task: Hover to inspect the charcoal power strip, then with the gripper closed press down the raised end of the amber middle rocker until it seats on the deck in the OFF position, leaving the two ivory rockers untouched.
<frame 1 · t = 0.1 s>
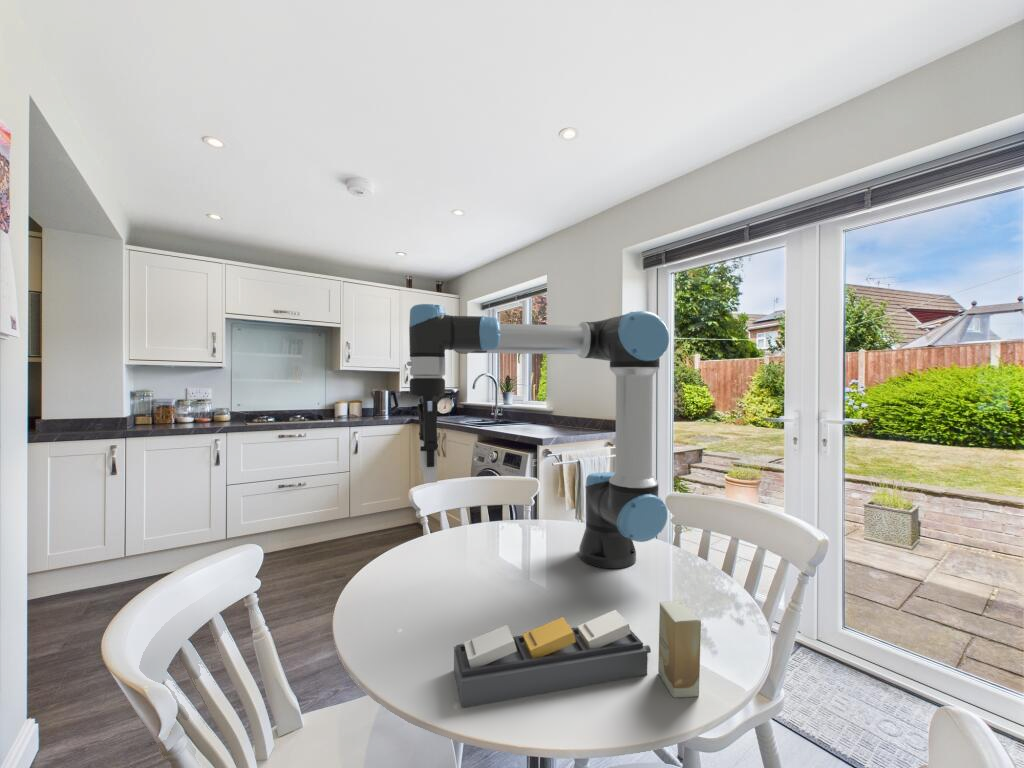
hand: (427, 475, 100), 28 cm above the table, fingers open, 13 cm apart
rocker 1: (489, 646, 74), point 6 cm above the table, hinge at 15.0°
skincare box: (678, 686, 74), on the table
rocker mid: (548, 637, 77), point 6 cm above the table, hinge at 15.0°
rocker 2: (603, 629, 79), point 6 cm above the table, hinge at 15.0°
power strip: (549, 672, 77), on the table
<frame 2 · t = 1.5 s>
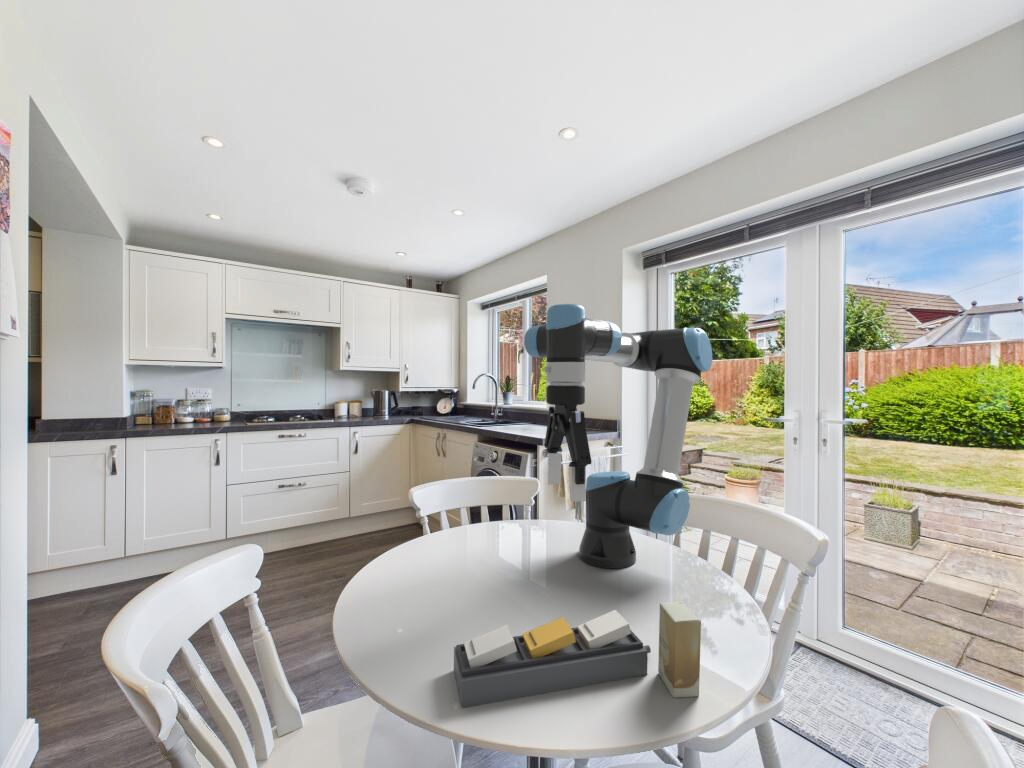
hand: (565, 492, 91), 27 cm above the table, fingers open, 13 cm apart
nothing on the table moved.
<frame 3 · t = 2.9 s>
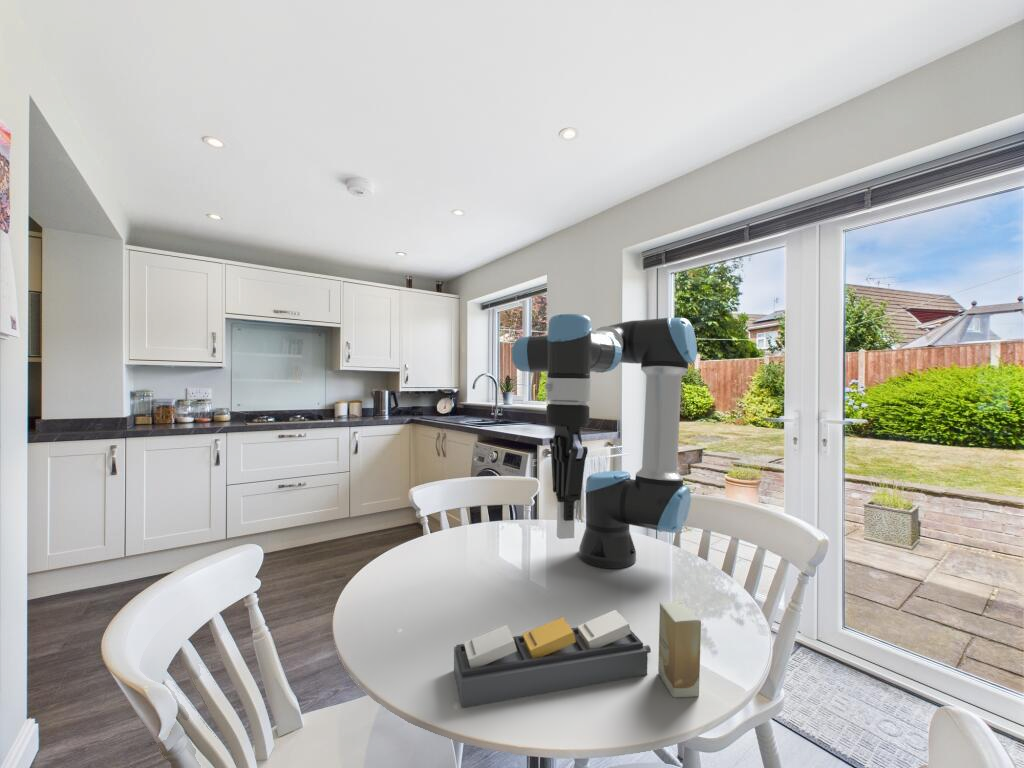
hand: (565, 536, 81), 21 cm above the table, fingers closed
nothing on the table moved.
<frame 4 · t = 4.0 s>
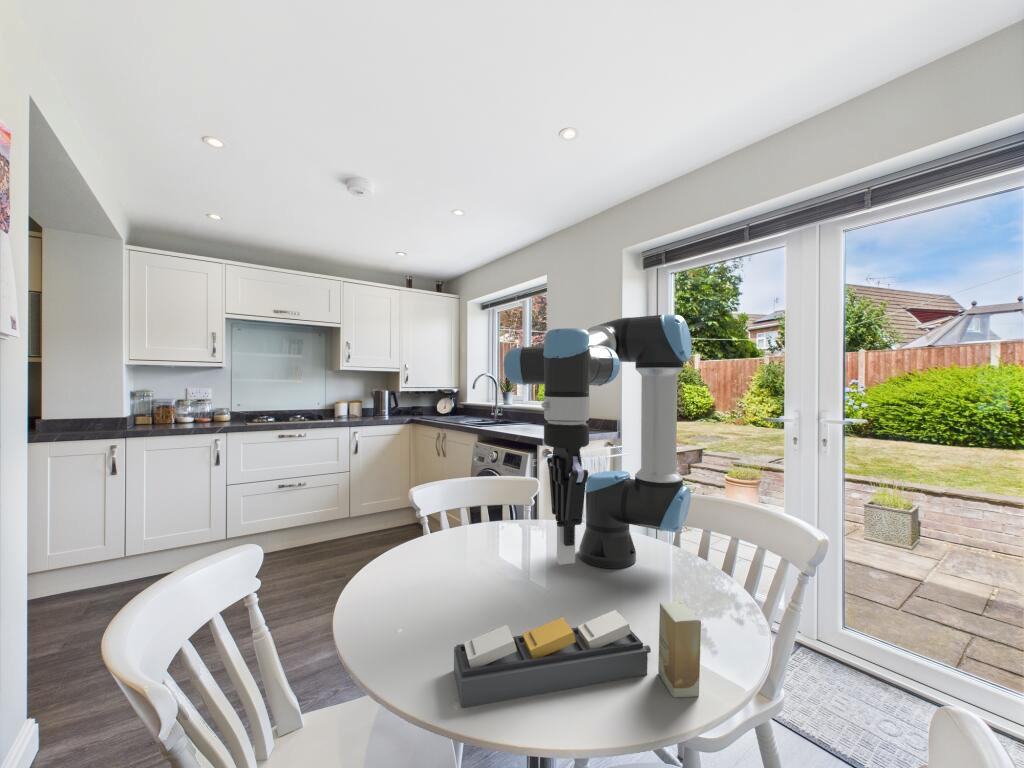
hand: (565, 561, 77), 18 cm above the table, fingers closed
nothing on the table moved.
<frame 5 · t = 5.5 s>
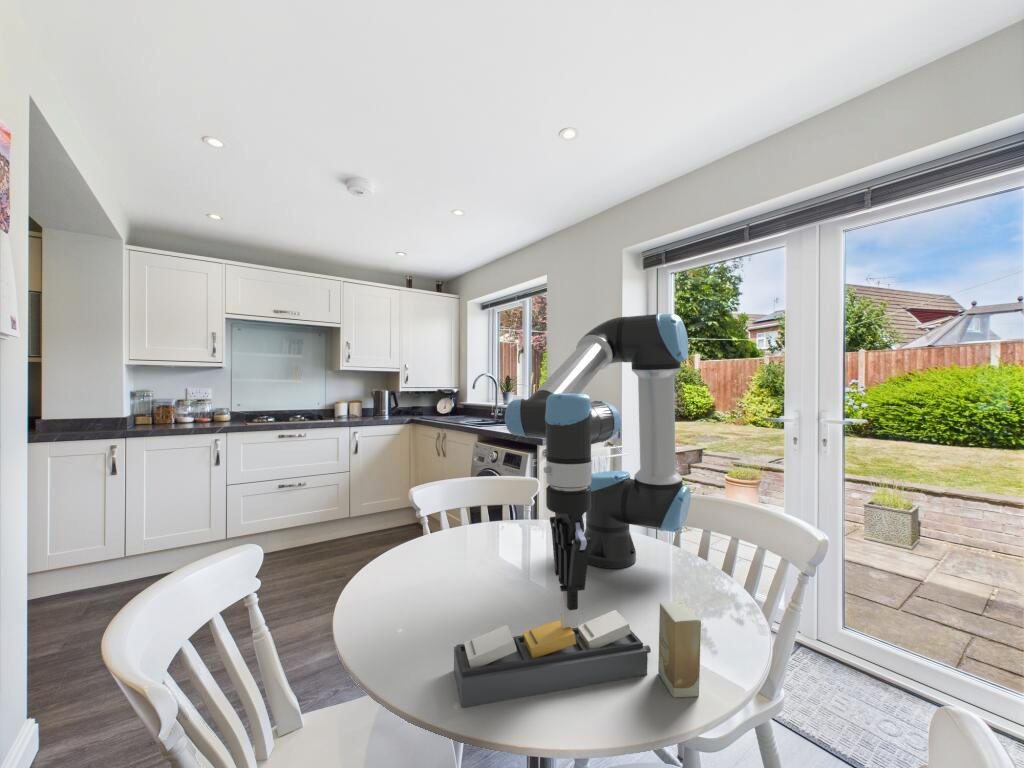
hand: (569, 624, 78), 8 cm above the table, fingers closed
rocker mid: (548, 637, 77), point 6 cm above the table, hinge at 10.8°, touching gripper
everything else where it was.
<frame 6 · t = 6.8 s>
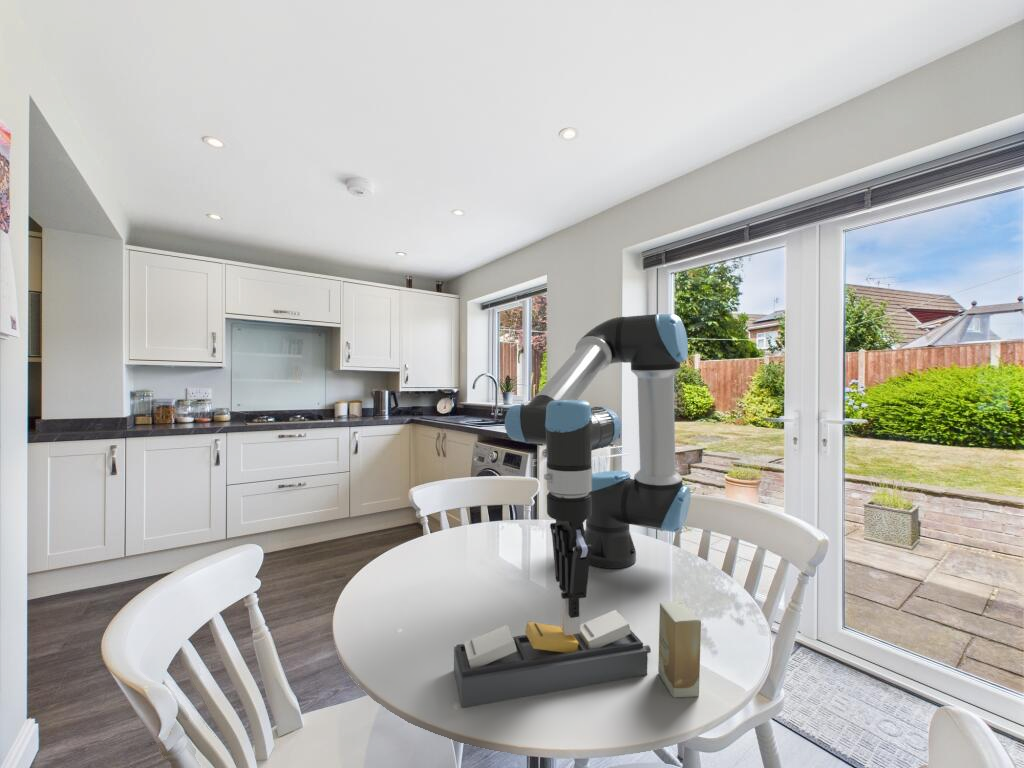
hand: (570, 631, 77), 7 cm above the table, fingers closed
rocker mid: (551, 636, 77), point 6 cm above the table, hinge at -15.3°, touching gripper, power strip
everything else where it was.
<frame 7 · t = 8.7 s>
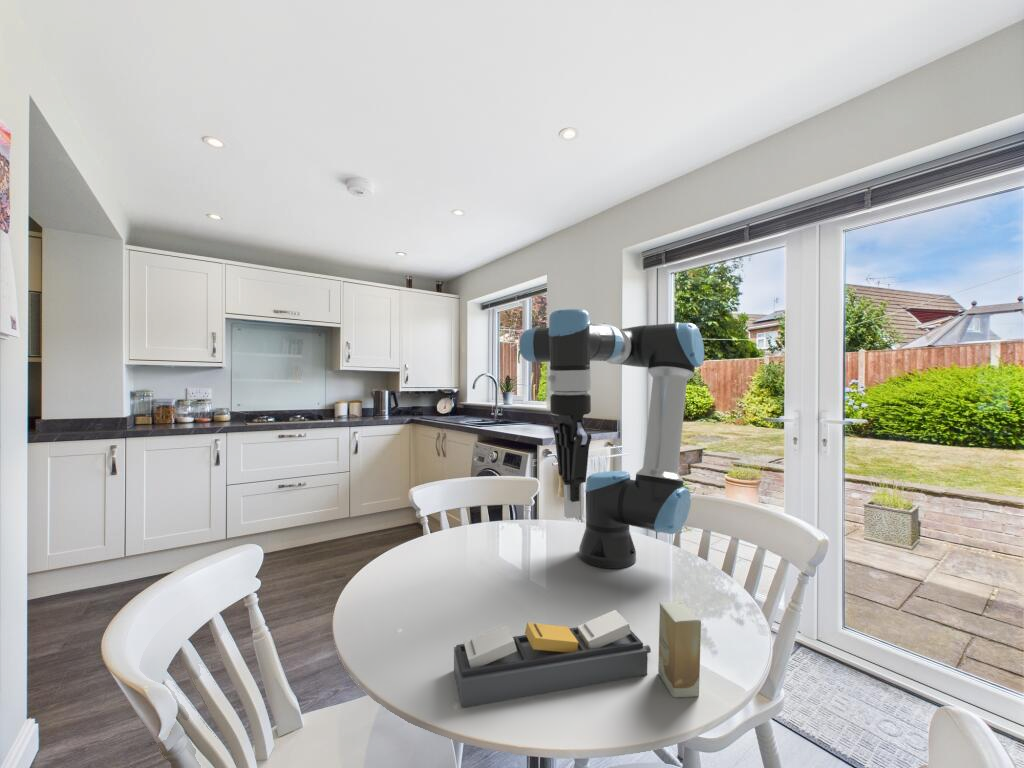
hand: (572, 516, 88), 23 cm above the table, fingers closed
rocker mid: (551, 636, 77), point 6 cm above the table, hinge at -13.6°
everything else where it was.
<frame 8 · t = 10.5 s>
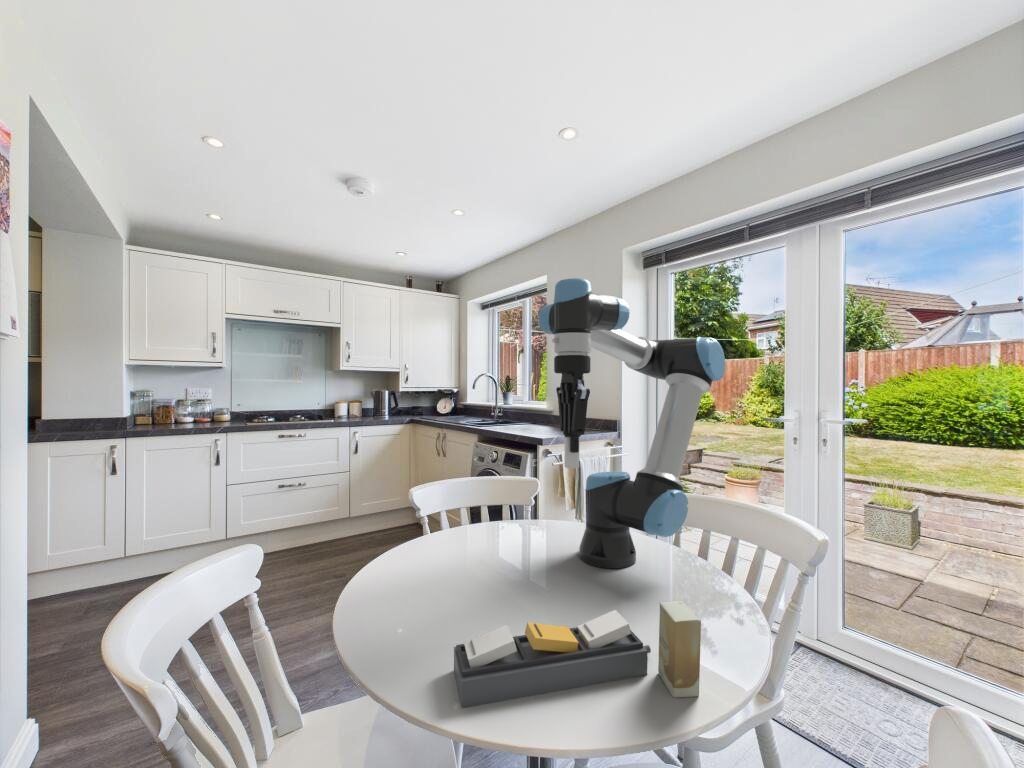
hand: (571, 467, 96), 30 cm above the table, fingers closed
nothing on the table moved.
at the end: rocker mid at -14° (first picture: +15°); rocker 2 at +15° (first picture: +15°); rocker 1 at +15° (first picture: +15°) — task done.
